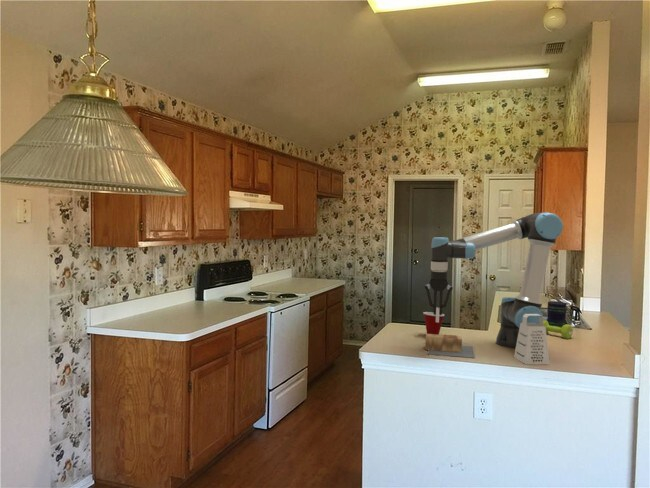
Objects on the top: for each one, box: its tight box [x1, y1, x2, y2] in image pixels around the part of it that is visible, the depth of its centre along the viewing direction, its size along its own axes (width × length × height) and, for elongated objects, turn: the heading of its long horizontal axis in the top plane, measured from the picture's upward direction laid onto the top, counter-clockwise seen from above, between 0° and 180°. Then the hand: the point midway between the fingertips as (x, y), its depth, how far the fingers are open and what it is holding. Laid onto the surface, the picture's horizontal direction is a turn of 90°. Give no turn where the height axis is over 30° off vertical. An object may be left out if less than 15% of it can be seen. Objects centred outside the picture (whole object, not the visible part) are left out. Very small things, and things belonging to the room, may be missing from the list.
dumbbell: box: [543, 319, 574, 340], centre depth 260 cm, size 16×8×7 cm, turn 39°
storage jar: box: [546, 300, 568, 328], centre depth 276 cm, size 10×10×15 cm
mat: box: [427, 345, 476, 359], centre depth 225 cm, size 20×20×1 cm
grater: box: [513, 314, 550, 365], centre depth 211 cm, size 10×10×20 cm
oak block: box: [424, 333, 463, 352], centre depth 226 cm, size 6×6×16 cm
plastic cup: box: [422, 311, 445, 335], centre depth 253 cm, size 11×11×12 cm
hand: (437, 321), depth 226 cm, fingers closed
